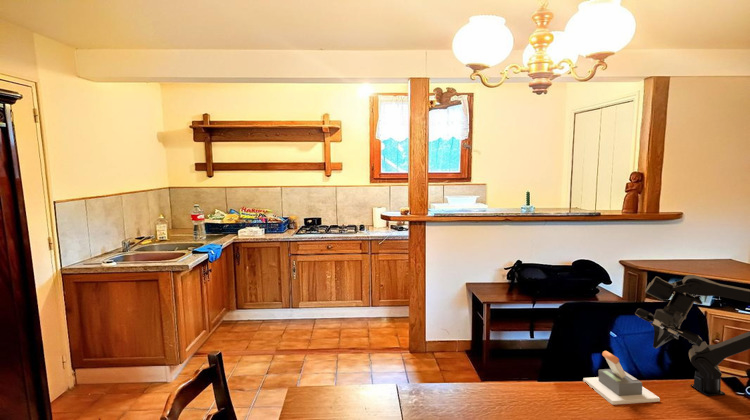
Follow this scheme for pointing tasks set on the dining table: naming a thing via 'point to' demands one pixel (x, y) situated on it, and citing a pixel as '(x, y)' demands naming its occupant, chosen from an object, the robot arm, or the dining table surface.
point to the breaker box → (620, 388)
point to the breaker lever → (614, 364)
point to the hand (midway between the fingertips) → (654, 347)
